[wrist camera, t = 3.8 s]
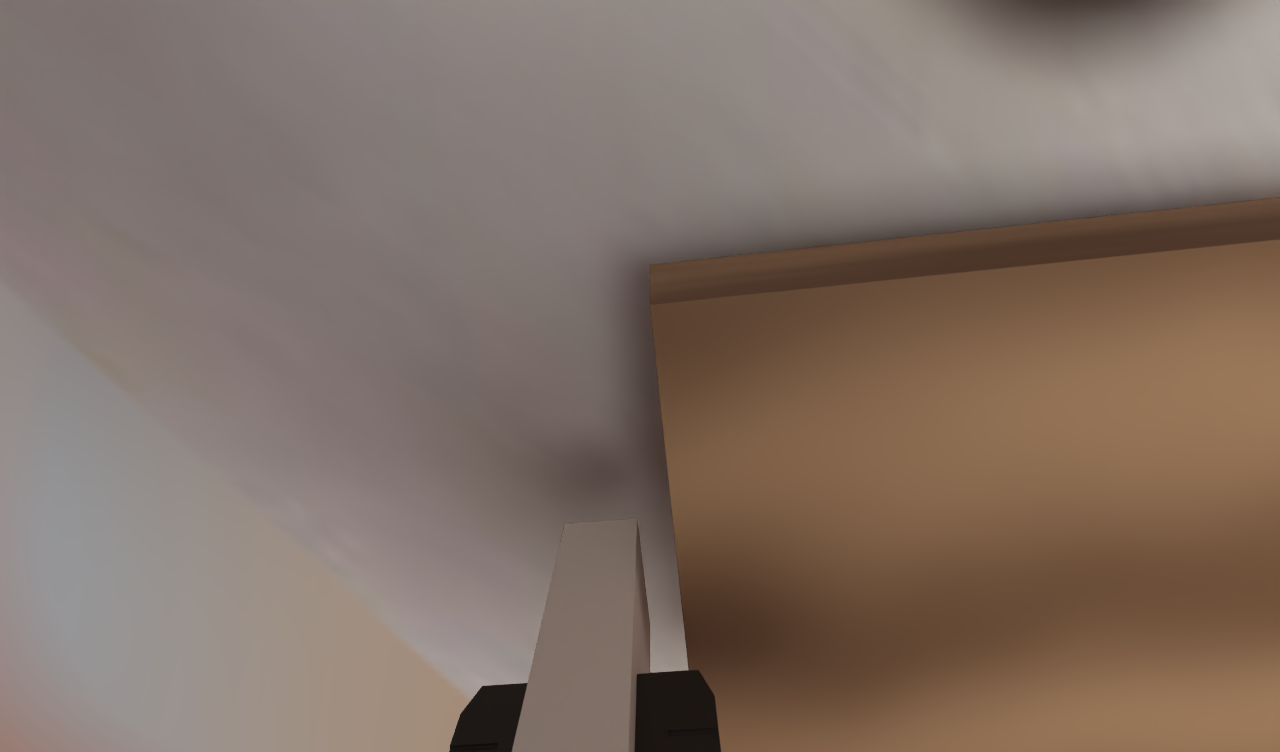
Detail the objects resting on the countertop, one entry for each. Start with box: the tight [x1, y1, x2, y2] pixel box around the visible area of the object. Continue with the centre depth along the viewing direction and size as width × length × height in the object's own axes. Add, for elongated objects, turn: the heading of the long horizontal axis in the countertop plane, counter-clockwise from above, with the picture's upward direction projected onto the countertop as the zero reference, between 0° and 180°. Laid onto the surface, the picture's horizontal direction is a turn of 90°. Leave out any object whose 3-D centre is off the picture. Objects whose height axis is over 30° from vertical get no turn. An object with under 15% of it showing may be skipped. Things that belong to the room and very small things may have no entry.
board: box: [650, 197, 1280, 752], centre depth 13 cm, size 12×16×4 cm
